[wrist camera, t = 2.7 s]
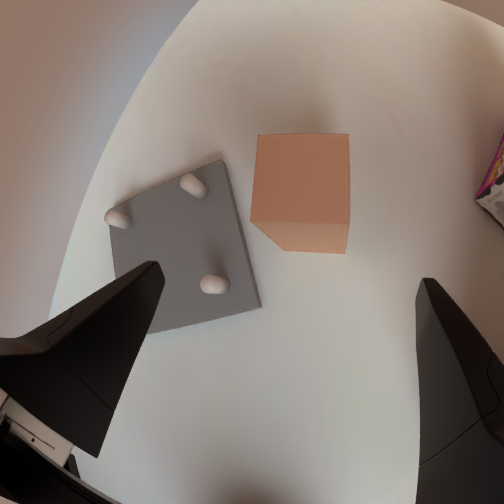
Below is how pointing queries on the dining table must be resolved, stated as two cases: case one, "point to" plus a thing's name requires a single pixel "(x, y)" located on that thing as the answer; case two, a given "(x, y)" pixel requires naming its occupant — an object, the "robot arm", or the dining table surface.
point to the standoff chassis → (187, 247)
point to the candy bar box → (494, 188)
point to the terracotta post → (303, 191)
